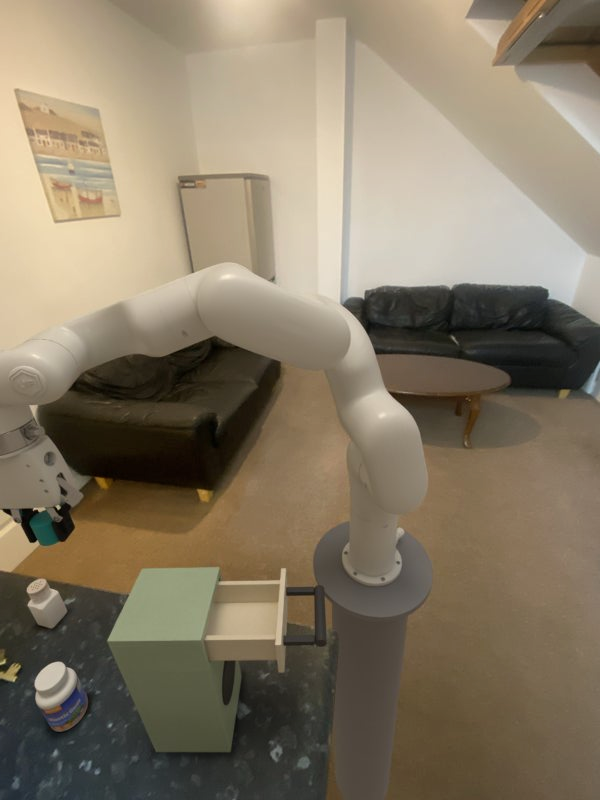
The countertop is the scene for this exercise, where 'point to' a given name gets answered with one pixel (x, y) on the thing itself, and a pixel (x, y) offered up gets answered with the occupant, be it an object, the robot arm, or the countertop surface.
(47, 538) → the pod
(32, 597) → the salt shaker
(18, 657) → the countertop surface
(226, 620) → the drawer
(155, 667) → the green cabinet
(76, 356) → the robot arm
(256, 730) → the countertop surface
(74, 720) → the pill bottle
